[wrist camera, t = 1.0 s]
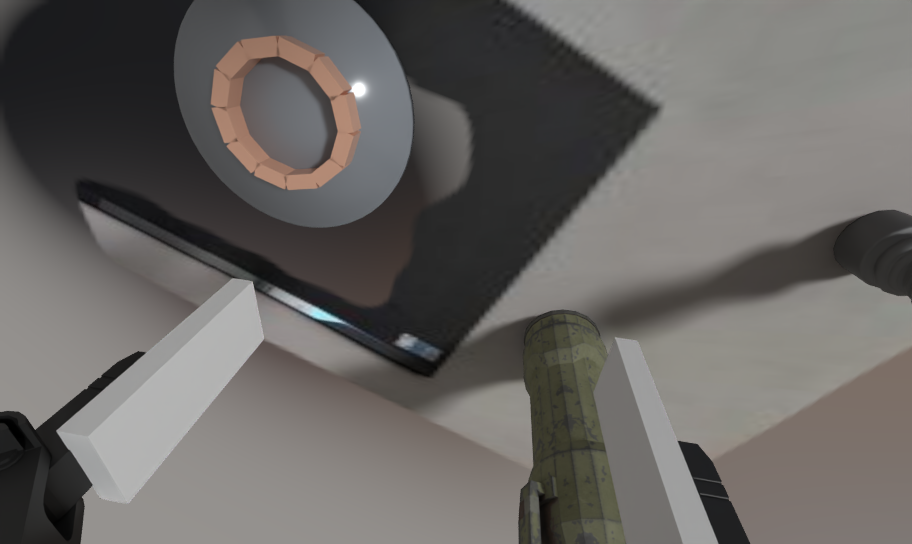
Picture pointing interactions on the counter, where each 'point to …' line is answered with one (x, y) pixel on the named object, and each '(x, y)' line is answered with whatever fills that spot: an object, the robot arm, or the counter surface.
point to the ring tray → (295, 105)
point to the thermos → (566, 437)
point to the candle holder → (879, 251)
